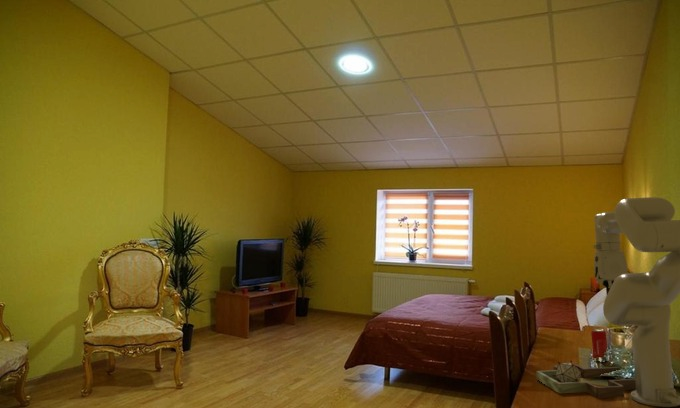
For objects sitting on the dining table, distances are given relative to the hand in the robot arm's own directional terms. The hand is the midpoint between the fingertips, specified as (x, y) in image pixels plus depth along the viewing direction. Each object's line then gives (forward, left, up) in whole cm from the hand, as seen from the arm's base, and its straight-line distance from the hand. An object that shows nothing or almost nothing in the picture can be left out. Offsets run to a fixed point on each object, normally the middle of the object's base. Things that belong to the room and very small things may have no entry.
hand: (612, 299), depth 165 cm
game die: (-7, +22, -27) cm, 36 cm away
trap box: (-6, +14, -27) cm, 31 cm away
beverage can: (+21, -7, -27) cm, 35 cm away
